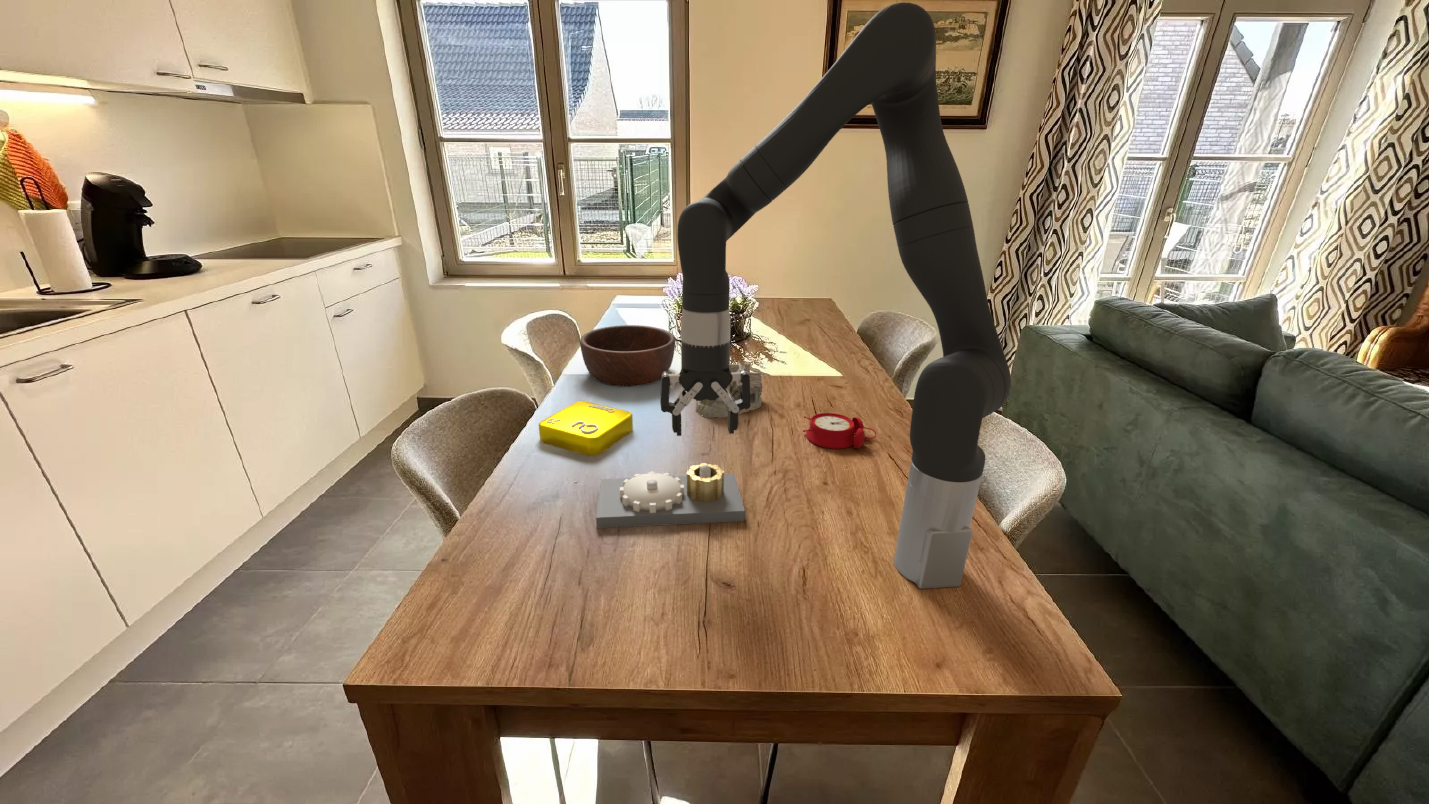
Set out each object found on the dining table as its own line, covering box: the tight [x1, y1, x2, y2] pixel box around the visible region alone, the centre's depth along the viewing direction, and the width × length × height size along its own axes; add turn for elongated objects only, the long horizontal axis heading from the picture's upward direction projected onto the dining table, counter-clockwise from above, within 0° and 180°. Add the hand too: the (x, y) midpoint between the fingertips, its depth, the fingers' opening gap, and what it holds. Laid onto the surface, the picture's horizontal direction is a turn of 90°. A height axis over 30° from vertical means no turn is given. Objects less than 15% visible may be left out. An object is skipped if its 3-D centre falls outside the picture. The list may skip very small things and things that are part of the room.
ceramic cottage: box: [695, 361, 763, 419], centre depth 140 cm, size 16×16×15 cm
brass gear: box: [686, 462, 725, 503], centre depth 101 cm, size 6×6×4 cm
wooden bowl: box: [579, 324, 676, 387], centre depth 158 cm, size 25×25×10 cm
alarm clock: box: [802, 412, 877, 450], centre depth 126 cm, size 10×6×15 cm
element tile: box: [538, 400, 634, 457], centre depth 125 cm, size 15×15×5 cm
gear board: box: [595, 465, 746, 529], centre depth 100 cm, size 12×24×7 cm, turn 97°
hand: (705, 432), depth 97 cm, fingers open, 8 cm apart
